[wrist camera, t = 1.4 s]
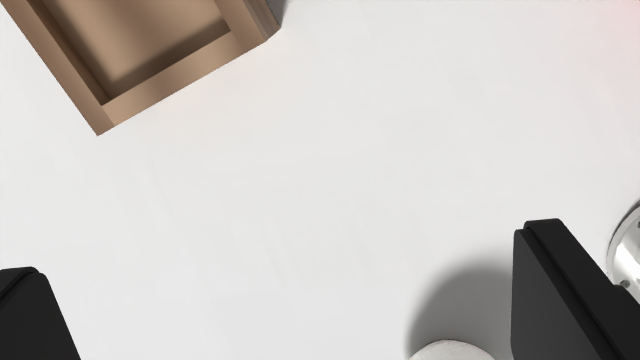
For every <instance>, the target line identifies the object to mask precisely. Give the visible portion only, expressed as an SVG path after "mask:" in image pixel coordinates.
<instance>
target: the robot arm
mask: <svg viewBox="0 0 640 360" xmlns="http://www.w3.org/2000/svg"><path fill="white" fill-rule="evenodd" d="M607 274H608V277H609V279H608V277H607V276H606V275H605V274H604V272H603V271H602V270H601V269H600V268H599V266H598V265H597V264H596V263H595V261H594V260H593V259H592V258H591V257H590V255H589V254H588V253H587V252H586V250H585V249H584V248H583V247H582V246H581V244H580V243H579V242H578V241H577V240H576V238H575V237H574V236H573V235H572V233H571V232H570V231H569V230H568V229H567V227H566V226H565V225H564V224H563V222H562V221H561V220H560V219H557V218H555V219H544V220H533V221H526V222H525V224H524V227H523V229H518V230H516V231H515V233H514V247H513V280H512V313H511V349H512V354H513V358H514V360H640V206H639V207H638V208H636V209H635V210H634V211H633V212H632V213H631V214H630V215H629V216H628V217H627V218H626V219H625V220H624V221H623V223H622V224H621V225H620V227H619V229H618V230H617V232H616V233H615V235H614V237H613V239H612V242H611V244H610V247H609V250H608V256H607ZM0 360H81V359H80V356H79V354H78V352H77V349H76V347H75V344H74V342H73V339H72V337H71V335H70V332H69V330H68V327H67V325H66V322H65V320H64V318H63V315H62V313H61V310H60V308H59V305H58V303H57V301H56V298H55V296H54V293H53V291H52V289H51V286H50V284H49V281H48V279H47V277H46V276H45V275H44V274H43V273H39V271H38V270H37V269H36V268H34V267H20V268H9V269H2V270H0Z"/></svg>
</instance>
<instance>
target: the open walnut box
mask: <svg viewBox="0 0 640 360" xmlns="http://www.w3.org/2000/svg"><path fill="white" fill-rule="evenodd" d="M0 2H1V4H2V5H3V6H4V8H5V9H6V10H7V12H8V13H9V15H10V16H11V17H12V19H13V20H14V22H15V23H16V24H17V26H18V27H19V28H20V30H21V31H22V33H23V34H24V35H25V37H26V38H27V40H28V41H29V42H30V44H31V45H32V46H33V48H34V49H35V51H36V52H37V53H38V55H39V56H40V57H41V59H42V60H43V62H44V63H45V64H46V66H47V67H48V69H49V70H50V71H51V73H52V74H53V75H54V77H55V78H56V80H57V81H58V82H59V84H60V85H61V86H62V88H63V89H64V91H65V92H66V93H67V95H68V96H69V98H70V99H71V100H72V102H73V103H74V104H75V106H76V107H77V109H78V110H79V111H80V113H81V114H82V116H83V117H84V118H85V120H86V121H87V122H88V124H89V125H90V127H91V128H92V129H93V131H94V132H95V133H96V135H97V136H99V135H101V134H103V133H104V132H106V131H108V130H110V129H111V128H113V127H115V126H117V125H118V124H120V123H122V122H124V121H126V120H127V119H129V118H131V117H133V116H134V115H136V114H138V113H140V112H142V111H143V110H145V109H147V108H149V107H150V106H152V105H154V104H156V103H158V102H159V101H161V100H163V99H165V98H166V97H168V96H170V95H172V94H173V93H175V92H177V91H179V90H181V89H182V88H184V87H186V86H188V85H189V84H191V83H193V82H195V81H197V80H198V79H200V78H202V77H204V76H205V75H207V74H209V73H211V72H213V71H214V70H216V69H218V68H220V67H221V66H223V65H225V64H227V63H229V62H230V61H232V60H234V59H236V58H237V57H239V56H241V55H243V54H244V53H246V52H248V51H250V50H252V49H253V48H255V47H257V46H259V45H260V44H262V43H264V42H266V41H267V40H268V39H269V38H270V37H271V36H273V35H274V34H275V33H276V32H277V31H278V30H279V29H281V28H280V27H279V25H278V23H277V21H276V19H275V18H274V16H273V14H272V12H271V10H270V8H269V7H268V5H267V3H266V1H265V0H0Z"/></svg>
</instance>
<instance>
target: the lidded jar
mask: <svg viewBox="0 0 640 360" xmlns="http://www.w3.org/2000/svg"><path fill="white" fill-rule="evenodd" d="M409 360H495V359H494V358H493V357H492V356H490V355H489V354H488V353H486V352H485V351H483V350H482V349H480V348H478V347H476V346H473V345H471V344H467V343H464V342H460V341H456V340H439V341H435V342H432V343H430V344H428V345H426V346H425V347H423V348H422V349H421V350H419V351H418V352H416V353H415V354H414V355H413V356H412V357H411V358H410V359H409Z"/></svg>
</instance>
